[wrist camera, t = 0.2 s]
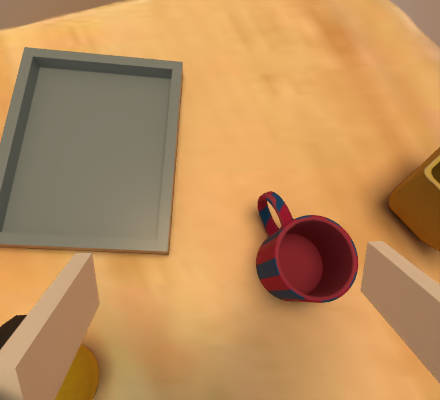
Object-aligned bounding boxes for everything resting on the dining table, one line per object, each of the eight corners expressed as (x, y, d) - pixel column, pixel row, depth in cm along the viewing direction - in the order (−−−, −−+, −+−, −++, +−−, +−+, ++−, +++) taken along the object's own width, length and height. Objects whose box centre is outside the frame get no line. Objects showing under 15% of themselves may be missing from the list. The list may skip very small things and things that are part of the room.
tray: (168, 254, 30) (167, 251, 28) (-10, 246, 29) (-25, 242, 27) (182, 75, 36) (182, 62, 34) (34, 62, 35) (24, 47, 33)
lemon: (119, 346, 28) (93, 365, 20) (93, 417, 26) (54, 467, 19) (58, 326, 28) (9, 339, 20) (28, 397, 26) (-38, 439, 18)
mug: (274, 313, 30) (299, 318, 23) (230, 216, 32) (241, 196, 26) (335, 283, 31) (374, 280, 25) (288, 192, 33) (313, 167, 27)
